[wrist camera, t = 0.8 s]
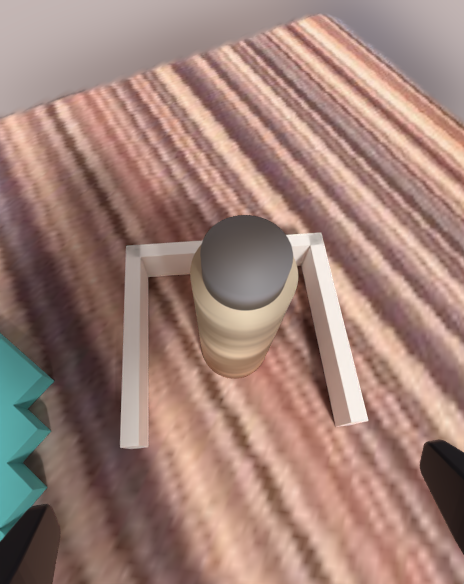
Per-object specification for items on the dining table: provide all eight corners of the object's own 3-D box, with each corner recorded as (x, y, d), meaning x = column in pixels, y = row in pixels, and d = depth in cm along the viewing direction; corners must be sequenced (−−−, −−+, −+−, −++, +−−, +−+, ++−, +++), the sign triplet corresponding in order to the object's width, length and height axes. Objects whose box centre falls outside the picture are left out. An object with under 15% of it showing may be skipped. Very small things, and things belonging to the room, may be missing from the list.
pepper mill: (279, 355, 25) (330, 269, 13) (224, 391, 24) (228, 331, 12) (243, 304, 26) (261, 189, 15) (189, 335, 25) (165, 236, 14)
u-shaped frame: (350, 424, 23) (368, 420, 20) (132, 448, 22) (119, 447, 19) (311, 254, 28) (321, 232, 26) (135, 266, 27) (126, 245, 25)
